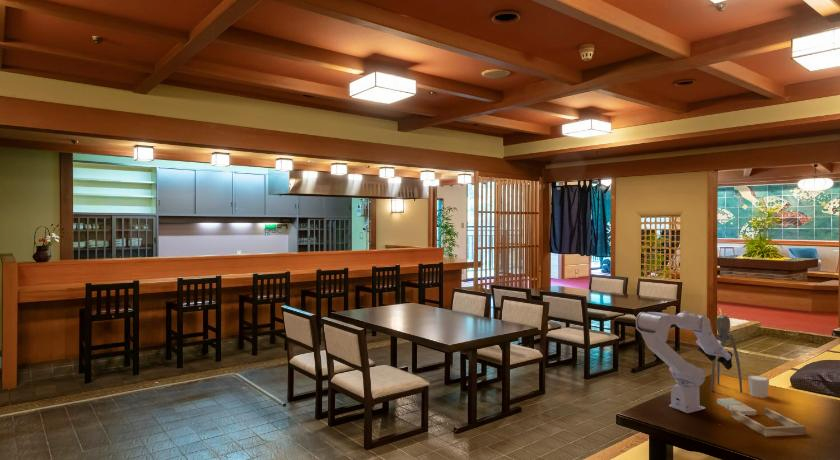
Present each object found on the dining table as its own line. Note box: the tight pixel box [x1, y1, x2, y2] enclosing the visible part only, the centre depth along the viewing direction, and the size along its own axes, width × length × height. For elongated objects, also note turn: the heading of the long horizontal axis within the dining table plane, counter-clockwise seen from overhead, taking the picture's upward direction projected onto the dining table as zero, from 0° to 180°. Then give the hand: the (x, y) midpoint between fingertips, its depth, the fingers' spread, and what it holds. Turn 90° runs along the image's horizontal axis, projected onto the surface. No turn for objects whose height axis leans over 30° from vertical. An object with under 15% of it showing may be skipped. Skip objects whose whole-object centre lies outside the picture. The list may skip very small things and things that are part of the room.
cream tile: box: [728, 403, 757, 416], centre depth 182 cm, size 6×6×2 cm
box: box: [730, 407, 807, 438], centre depth 170 cm, size 16×13×2 cm
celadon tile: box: [716, 397, 744, 410], centre depth 188 cm, size 6×6×2 cm
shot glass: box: [747, 375, 770, 398], centre depth 197 cm, size 7×7×7 cm
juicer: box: [710, 315, 743, 394], centre depth 206 cm, size 10×11×30 cm
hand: (721, 363), depth 196 cm, fingers open, 7 cm apart
